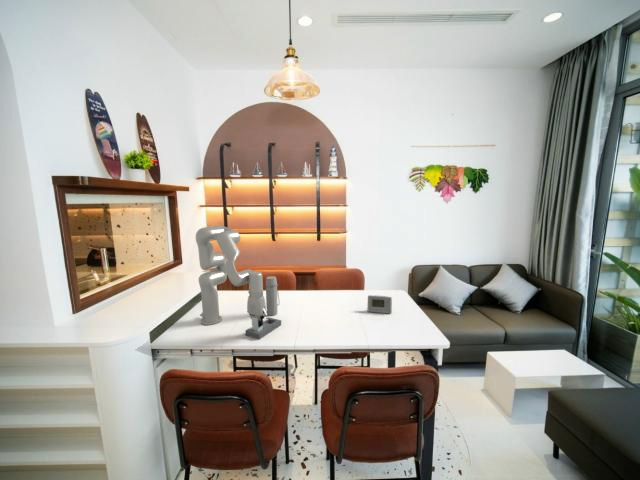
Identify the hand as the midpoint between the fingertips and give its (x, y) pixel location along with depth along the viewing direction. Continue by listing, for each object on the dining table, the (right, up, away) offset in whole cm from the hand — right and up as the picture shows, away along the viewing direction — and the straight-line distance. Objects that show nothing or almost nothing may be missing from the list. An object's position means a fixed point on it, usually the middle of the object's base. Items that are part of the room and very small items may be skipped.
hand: (257, 325), depth 154 cm
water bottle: (+4, -2, +29) cm, 30 cm away
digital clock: (+75, -1, +31) cm, 81 cm away
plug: (0, -4, +1) cm, 4 cm away
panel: (+3, -5, +6) cm, 8 cm away
